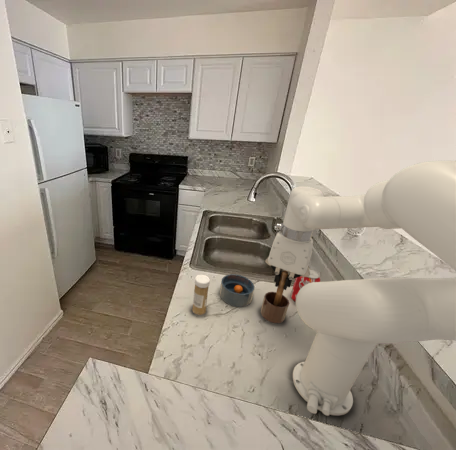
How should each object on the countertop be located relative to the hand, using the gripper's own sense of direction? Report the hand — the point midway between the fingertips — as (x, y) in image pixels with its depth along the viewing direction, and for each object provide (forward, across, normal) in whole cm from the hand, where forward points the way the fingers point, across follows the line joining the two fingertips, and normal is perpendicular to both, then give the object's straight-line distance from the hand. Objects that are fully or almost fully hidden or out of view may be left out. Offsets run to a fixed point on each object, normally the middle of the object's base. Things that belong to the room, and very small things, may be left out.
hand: (281, 285), depth 77 cm
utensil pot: (+13, 0, 0) cm, 13 cm away
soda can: (+13, +6, +14) cm, 20 cm away
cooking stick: (+12, 0, 0) cm, 12 cm away
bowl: (+13, -13, +1) cm, 18 cm away
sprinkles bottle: (+13, -20, -13) cm, 27 cm away
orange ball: (+11, -13, +4) cm, 17 cm away
